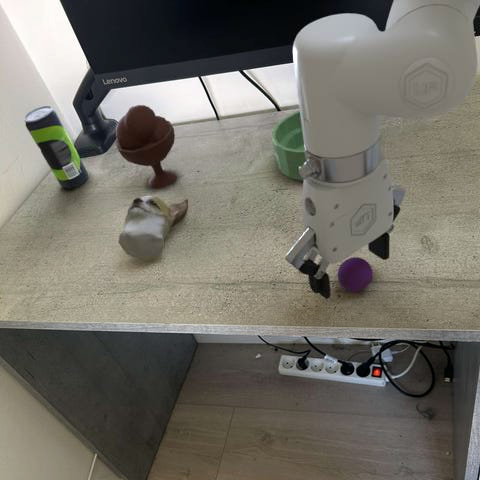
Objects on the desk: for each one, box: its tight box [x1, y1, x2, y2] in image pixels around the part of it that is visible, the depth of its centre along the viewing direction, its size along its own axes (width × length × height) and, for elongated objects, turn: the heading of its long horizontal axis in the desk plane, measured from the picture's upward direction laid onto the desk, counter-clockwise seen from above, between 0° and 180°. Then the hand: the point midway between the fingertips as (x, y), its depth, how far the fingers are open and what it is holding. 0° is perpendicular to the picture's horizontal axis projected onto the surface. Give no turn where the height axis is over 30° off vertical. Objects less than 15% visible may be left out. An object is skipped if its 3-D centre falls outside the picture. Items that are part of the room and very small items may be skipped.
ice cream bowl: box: [114, 104, 177, 190], centre depth 89 cm, size 11×11×15 cm
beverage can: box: [23, 105, 89, 189], centre depth 97 cm, size 6×6×15 cm
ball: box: [337, 256, 374, 292], centre depth 63 cm, size 4×4×4 cm
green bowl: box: [271, 109, 306, 181], centre depth 84 cm, size 15×15×6 cm
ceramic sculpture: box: [118, 195, 189, 262], centre depth 79 cm, size 11×9×15 cm
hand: (350, 273), depth 63 cm, fingers open, 9 cm apart
